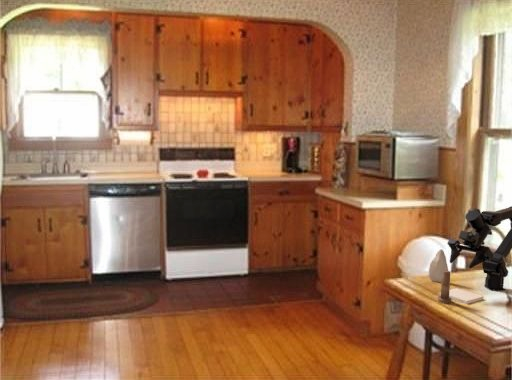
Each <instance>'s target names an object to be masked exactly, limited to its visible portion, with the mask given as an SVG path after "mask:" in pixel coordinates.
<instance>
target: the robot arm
mask: <svg viewBox="0 0 512 380" xmlns="http://www.w3.org/2000/svg"><path fill="white" fill-rule="evenodd" d="M464 217H465V219H466V222H467V223H468V224H469V226H470V228H471V229H473V230H472V231H471V232H470V231H465V230H460V232H459V234H458V239H461V240H462V243H463V244H461V242H460V241H459V240H458V239H453V238H450V239H449V240H448V241H447V245H448V247H449V248H450V249H451V250H450V251H451V252H450V257H449V263H450V264H452V263H454V262H455V261H456V260H457V259H458V257H459V256H460V255H461V252H462V251H463V250H464V251H468V252H472V253H475V255H474V257H473V258H472V260H471V262H470V263H469V265H468V268H469V269H472V268H474V267H476V266H478V265H480V264H482V270H483V274H486V276H485V279H484V285H483V286H484V287H485V288H487V289H488V290H490V291H506V289H505V287H504V283H505V281H504V280H505V278H506V277H507V276H508V275H509V270H508V269H507V267H506V265H507V262H506V258H507V257H508V255H509V254H510V252H511V251H512V206H509V207H506V208H502V209H499V210H495V211H491V210H483V211H481V210H480V208H473V210H470V211H469V212H466V214H465V216H464ZM505 220H509V221H510V229H509V230H508V232H507V234H506V235H505V237H504V238H503V239H502V241H501V242H500V243H499V245H498V247H497V248H496V249H495V251H493V252H492V249H491V248H490V246H486V245H485V244H486V242H485V240H486V239H487V237H488V236H493V232H492V228H490V227H497V226H499V225H501V224H502V221H505ZM484 245H485V246H484Z"/></svg>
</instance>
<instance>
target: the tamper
mask: <svg viewBox="0 0 512 380" xmlns="http://www.w3.org/2000/svg"><path fill="white" fill-rule="evenodd" d="M450 286H451V270H448V271H446V270H444V271H442V281H441V282H440V292H441V295H439V296H438V298H437V299H438V300H437V302H439V303H441V304H444V305H446V304H447V305H448V304H451V303H452V299H451V298H450V297H449V290H451V287H450Z"/></svg>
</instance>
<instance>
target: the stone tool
mask: <svg viewBox="0 0 512 380" xmlns="http://www.w3.org/2000/svg"><path fill="white" fill-rule="evenodd" d="M448 267H449V266H448V262H447V257H446V255H445V251H444V250H443V249H441V248H440V249H439V250H438V251H437V252H436V253H435V256H434V258H433V259H432V260H431V262H430V263H429V268H428V274H427V275H428V276H427V278H429V280H430V281H432V282H438V283H441V281H442V271H444V270H446V271H449V268H448Z"/></svg>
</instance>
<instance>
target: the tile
mask: <svg viewBox="0 0 512 380" xmlns="http://www.w3.org/2000/svg"><path fill="white" fill-rule="evenodd" d="M439 296H441V291H439ZM449 297H450V298H451V300H453V301H457V302H459V303H462V304H465V305H467V304H470V303H475V302H478V301H481V300H482V301H483V300H484V296H483V295H480V294H476V293H473V292H470V291H467V290H464V289H461V288H457V287H456V288H450V290H449Z"/></svg>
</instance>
